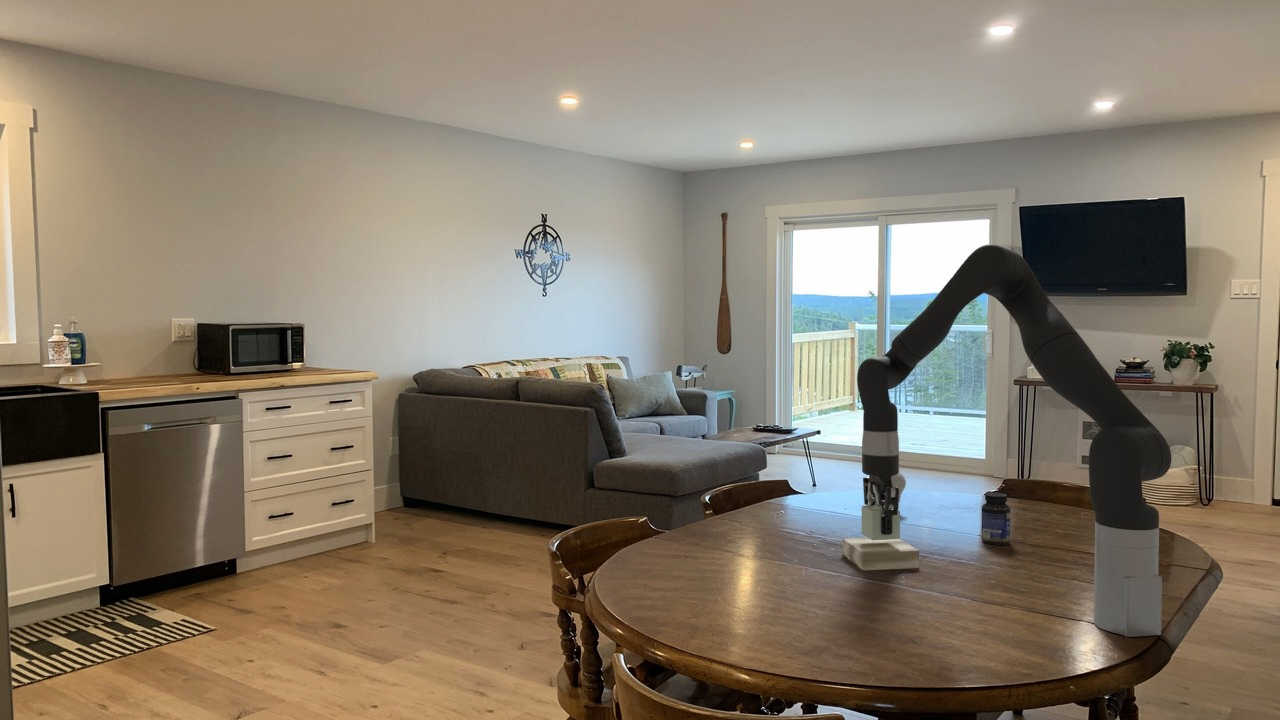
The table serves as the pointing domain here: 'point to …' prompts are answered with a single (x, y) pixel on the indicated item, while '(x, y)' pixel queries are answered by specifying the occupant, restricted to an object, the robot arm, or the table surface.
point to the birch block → (880, 553)
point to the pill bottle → (996, 519)
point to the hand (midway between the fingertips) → (880, 530)
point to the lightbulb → (899, 484)
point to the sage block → (878, 524)
